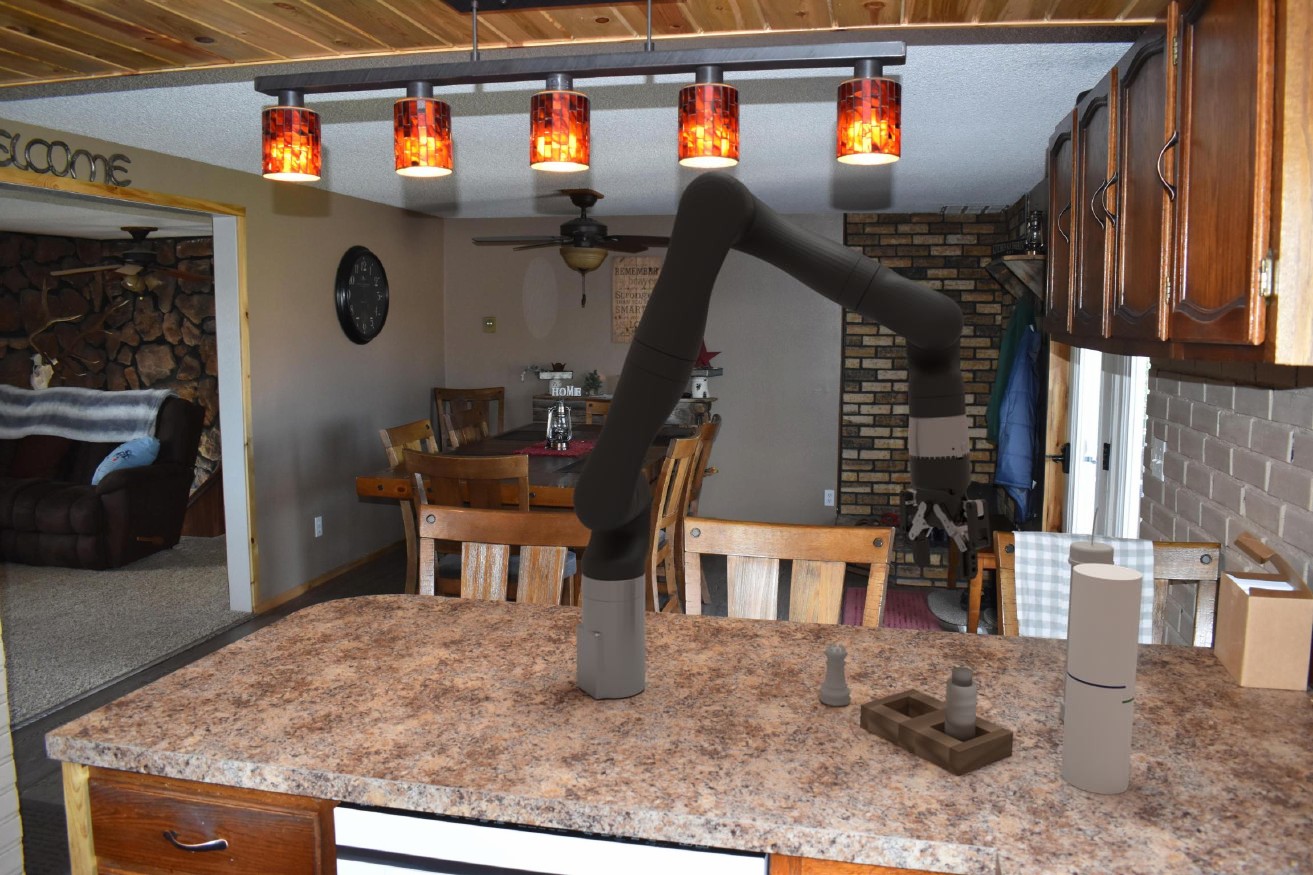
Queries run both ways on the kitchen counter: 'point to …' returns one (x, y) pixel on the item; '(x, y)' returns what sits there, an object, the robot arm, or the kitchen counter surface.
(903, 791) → the kitchen counter surface
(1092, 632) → the cylindrical container
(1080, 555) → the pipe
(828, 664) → the rook chess piece
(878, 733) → the holder
